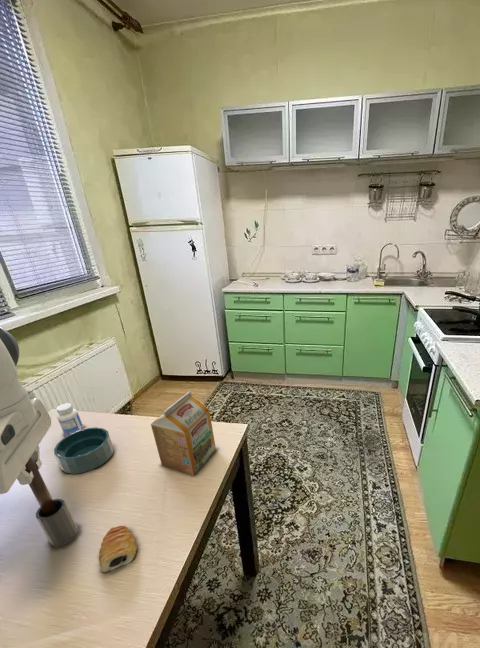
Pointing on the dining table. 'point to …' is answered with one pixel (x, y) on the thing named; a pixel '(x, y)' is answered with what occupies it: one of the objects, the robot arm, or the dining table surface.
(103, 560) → the pastry
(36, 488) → the stick
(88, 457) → the bowl
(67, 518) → the holder
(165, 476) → the dining table surface
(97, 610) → the dining table surface
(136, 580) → the dining table surface
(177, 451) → the milk carton
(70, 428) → the pill bottle
